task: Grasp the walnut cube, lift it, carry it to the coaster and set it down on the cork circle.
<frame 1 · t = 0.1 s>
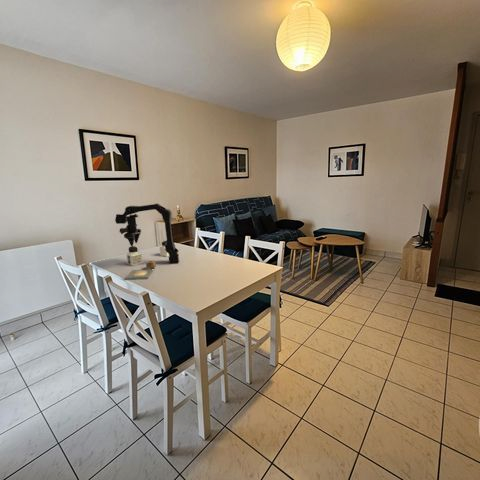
hand: (134, 244, 189), 15 cm above the table, fingers open, 9 cm apart
medicine bottle: (166, 255, 214), on the table
container: (135, 263, 193), on the table
coaster: (139, 275, 169), on the table
cube: (151, 268, 182), on the table
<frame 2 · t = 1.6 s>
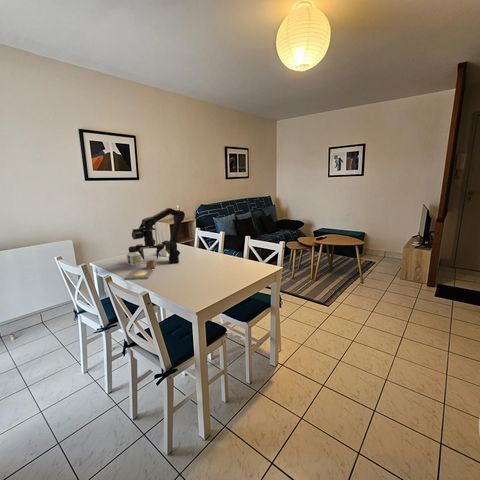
hand: (150, 258, 181), 7 cm above the table, fingers open, 9 cm apart
nothing on the table moved.
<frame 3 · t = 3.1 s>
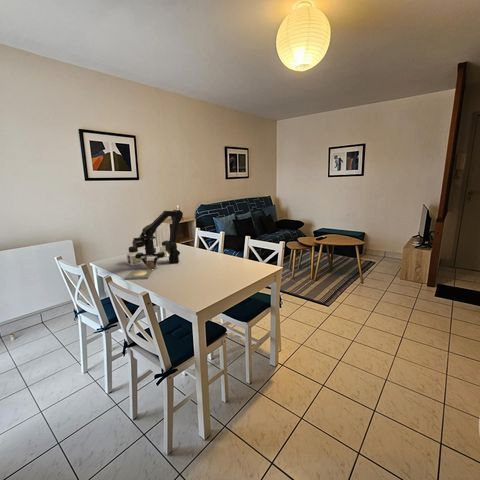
hand: (151, 266, 182), 1 cm above the table, fingers closed on cube, 5 cm apart
cube: (151, 268, 182), on the table, touching gripper
everything else where it was.
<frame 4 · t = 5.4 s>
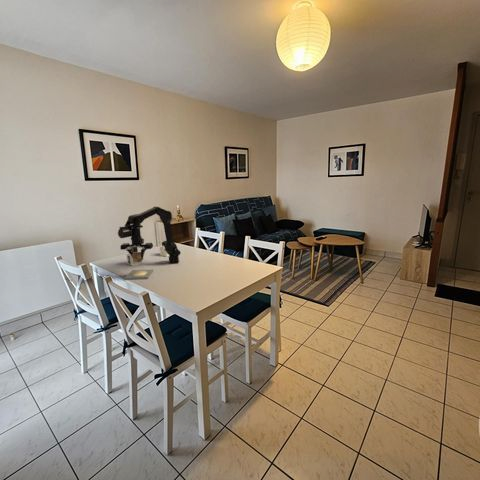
hand: (138, 259, 167), 11 cm above the table, fingers closed on cube, 5 cm apart
cube: (138, 260, 167), point 10 cm above the table, touching gripper
everything else where it was.
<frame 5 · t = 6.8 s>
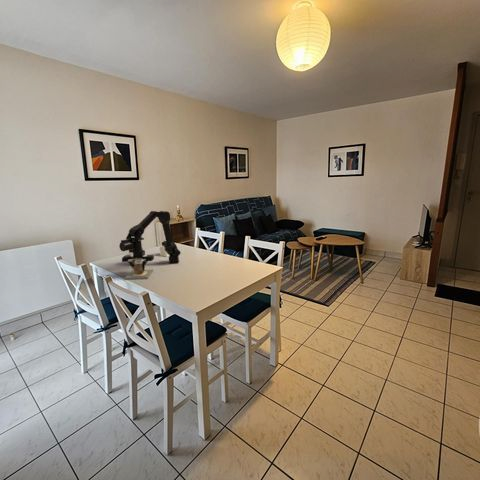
hand: (139, 270, 169), 3 cm above the table, fingers closed on cube, 5 cm apart
cube: (139, 272, 169), point 2 cm above the table, touching gripper
everything else where it was.
when the fingers open (3 cm above the table, at t = 7.7 s): cube stays where it is, resting on coaster.
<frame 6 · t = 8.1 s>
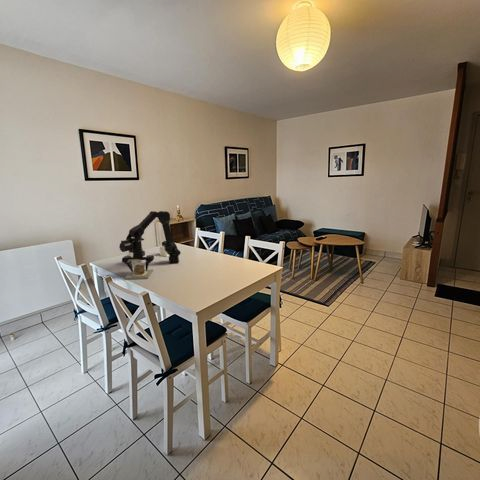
hand: (139, 271, 169), 3 cm above the table, fingers open, 9 cm apart
cube: (139, 273, 169), point 1 cm above the table, touching coaster
everything else where it was.
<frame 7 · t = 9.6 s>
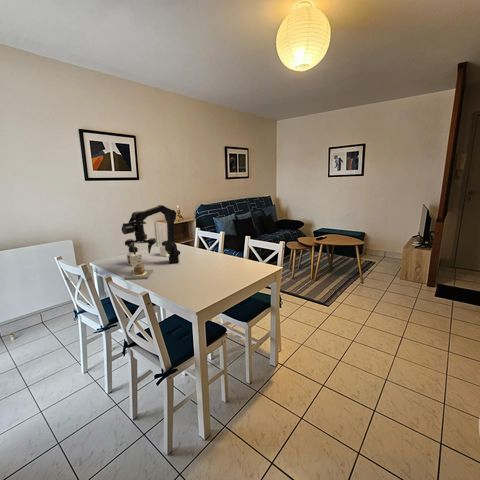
hand: (142, 254, 173), 12 cm above the table, fingers open, 9 cm apart
nothing on the table moved.
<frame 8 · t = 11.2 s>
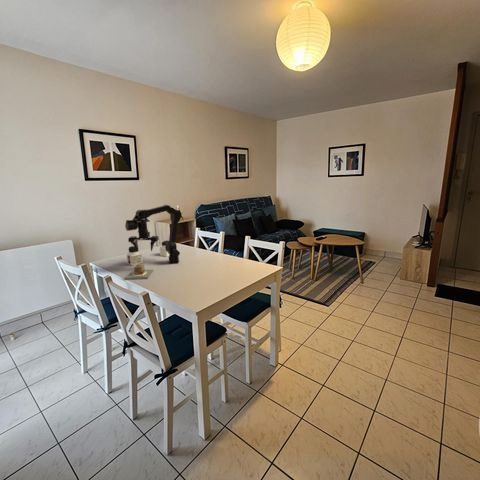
hand: (144, 251, 178), 13 cm above the table, fingers open, 9 cm apart
nothing on the table moved.
at the end: cube inside the target area on the coaster (0.0 cm from its centre), point 1.3 cm above the coaster's base; cube tilted 0°; the gripper is holding nothing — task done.
